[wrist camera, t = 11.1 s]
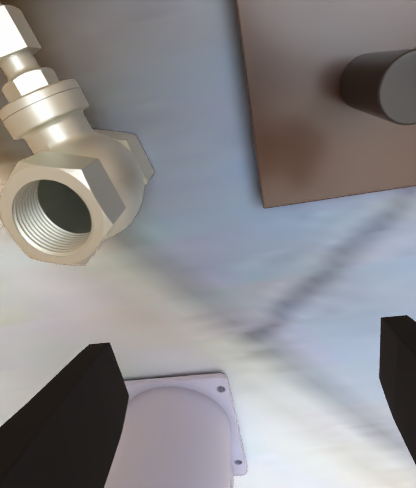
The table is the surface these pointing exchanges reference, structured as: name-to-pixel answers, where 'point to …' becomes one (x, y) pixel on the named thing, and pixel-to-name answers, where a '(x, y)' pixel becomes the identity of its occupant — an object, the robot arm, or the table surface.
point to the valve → (61, 159)
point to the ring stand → (330, 96)
